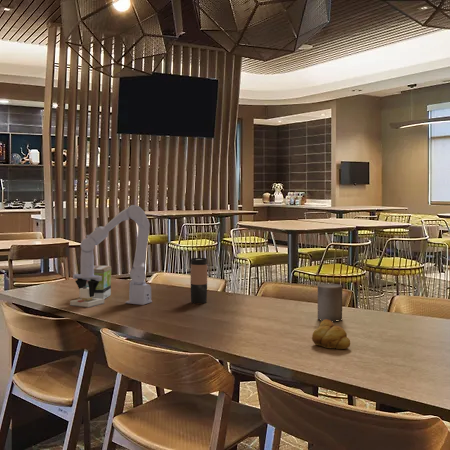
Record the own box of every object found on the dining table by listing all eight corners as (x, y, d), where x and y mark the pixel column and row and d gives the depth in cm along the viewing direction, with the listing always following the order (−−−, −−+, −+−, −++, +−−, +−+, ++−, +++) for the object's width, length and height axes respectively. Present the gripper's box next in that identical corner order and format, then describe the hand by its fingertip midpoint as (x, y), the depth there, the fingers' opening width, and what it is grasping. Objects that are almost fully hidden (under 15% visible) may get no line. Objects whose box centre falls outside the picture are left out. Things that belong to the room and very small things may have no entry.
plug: (94, 299, 251) (94, 285, 250) (87, 301, 246) (87, 287, 246) (86, 298, 253) (86, 285, 252) (79, 300, 248) (79, 286, 248)
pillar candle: (343, 318, 226) (343, 280, 225) (341, 323, 217) (341, 284, 216) (318, 316, 229) (318, 280, 228) (315, 321, 219) (316, 283, 219)
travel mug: (208, 300, 261) (208, 257, 260) (206, 304, 253) (206, 259, 252) (191, 300, 262) (191, 257, 260) (189, 303, 254) (189, 259, 253)
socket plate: (104, 303, 252) (104, 297, 252) (88, 307, 242) (88, 301, 242) (86, 301, 257) (86, 295, 257) (69, 305, 247) (69, 299, 247)
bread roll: (356, 349, 180) (357, 324, 179) (335, 353, 174) (336, 328, 174) (326, 340, 190) (326, 317, 190) (305, 344, 184) (306, 320, 184)
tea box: (104, 300, 259) (104, 268, 259) (82, 300, 260) (82, 268, 259) (111, 295, 274) (111, 264, 274) (90, 294, 275) (90, 264, 274)
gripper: (68, 265, 248) (68, 296, 249) (94, 267, 242) (94, 298, 243) (78, 263, 255) (78, 293, 255) (104, 265, 249) (104, 296, 249)
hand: (87, 296), depth 249 cm, fingers closed on plug, 4 cm apart
